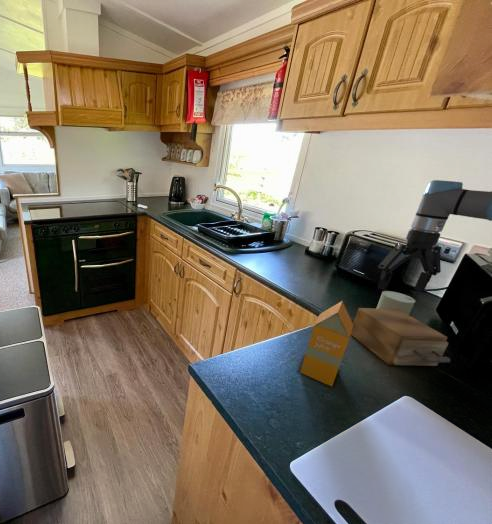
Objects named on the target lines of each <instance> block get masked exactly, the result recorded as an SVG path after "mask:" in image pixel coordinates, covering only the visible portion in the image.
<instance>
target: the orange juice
mask: <svg viewBox="0 0 492 524" xmlns="http://www.w3.org/2000/svg"><path fill="white" fill-rule="evenodd" d="M352 329H353V322H352V320H351V317H350V314H349V312H348V310H347V308H346V306H345V304H344V302H343V300H341V301H339V302H338V303H336V304H334V305H333V306H331V307H329V308H328V309H326V310H324V311H322V312H320V313H319V315H318V317H317V319H316V321H315V322H314V324H313V327H312V332H311V333H310V338H309V342H308V345H307V348H306V351H305V354H304V359H303V361H302V365H301V368H300V371H299V373H300V374H303V375H305V376H307V377H309V378H312V379H314V380H316V381H318V382H320V383H322V384H325V385H327V386H329V387H332V388H333V385H334V382H335V379H336V377H337V374H338V371H339V369H340V366H341V363H342V361H343V357H344V354H345V352H346V350H347V346H348V344H349V342H350V339H351V336H352V335H351V332H352Z"/></svg>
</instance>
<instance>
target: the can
mask: <svg viewBox="0 0 492 524" xmlns="http://www.w3.org/2000/svg"><path fill="white" fill-rule="evenodd" d="M415 304H416V299H414V298H413V297H412V296H409V295H407V294H404V293H400V292H396V291H393V290H392V291H391V290H386V291H384V290H382V291H381V295H380V297H379V300H378V303H377V306H376V307H375V309H399V310H400V311H402V312H404V313H406V314H407V315H409V316H410V315H411V312H412V310H413V308H414V305H415Z"/></svg>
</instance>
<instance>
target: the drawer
mask: <svg viewBox="0 0 492 524" xmlns="http://www.w3.org/2000/svg"><path fill="white" fill-rule="evenodd" d="M448 345H449V342H448V341H447V340H446V341H445V340H431V339H402V341H401V343H400V346H399V348H398V350H397V353H396V355H395V357H394V359H393V362H392V363H394V364H395V365H394V366H417V367H419V366H423V367H425V366H426V367H427V366H428V367H438V365H439V364H441V363H443V364H448V363H451V358H449V357H448V356H443V355H444V353H445V352H446V350H447V348H448Z"/></svg>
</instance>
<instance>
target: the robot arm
mask: <svg viewBox="0 0 492 524" xmlns="http://www.w3.org/2000/svg"><path fill="white" fill-rule="evenodd" d="M463 185H464V184H463V182H461V181H451V180H442V179H441V180H440V179H434V180H431V181H430V182H429V183H428V184H427V186H426V188H425V191H424V192H423V194H422V197H421V200H420V202H419V204H418V208H417V210H416V212H415V214H414V217H413V219H412V222H411V224H410V227H411V228H410V229H409V230H408V232H407V235H406V237H405V239H406V243H405V244H404V243H402V242H401V243H400V242H396V244H395V245H394V247H393V249H392V250H391V251H390V252H389V253H388V254H387V256H385V257H384V259H383V260H382V261H381V262H380V263H379V264H378V265H377V268H378V269H380V270H381V274H380V277H379V283H378V285H377V289H379V290H382V291H388V287H389V285H390V282H391V279H392V276H393V275H394V273H393V272H394V270H396V269H397V268H398V267H400V266H401V265H402V264H404V263H405V262H406V261H408V260H411V259H418V260H419V261H420V264H421V267H422V269H423V271H421V272H420V274H419V277H418V279H417V282H416V283H415V286H414V288H413V290H415V291H418V292H419V293H424V292H425V290H426V288H427V285H428V283H430V281H431V278H432V276H437V275H438V274H440V273H441V272H442V270H441V252H442V249H443V247H442V246H439V245H437V244H438V242H439V239H440V237H441V233H440V232H443V230H444V228H445V225H446V223H447V221H448V219H449V216H450V215H453V216H461V217H466V218H474V219H481V220H487V221H489V222H492V191H491V190H490V191H489V190H487V191H486V190H472V189H465V188H463Z"/></svg>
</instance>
